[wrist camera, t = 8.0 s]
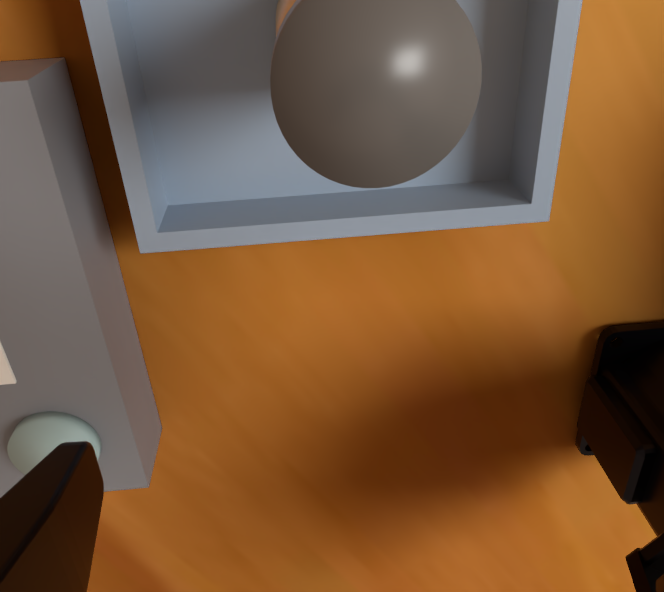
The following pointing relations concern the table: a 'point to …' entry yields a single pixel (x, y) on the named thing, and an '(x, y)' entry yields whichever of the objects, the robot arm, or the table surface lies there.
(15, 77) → the panel
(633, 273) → the table surface
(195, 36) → the parts tray
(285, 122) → the cylinder
